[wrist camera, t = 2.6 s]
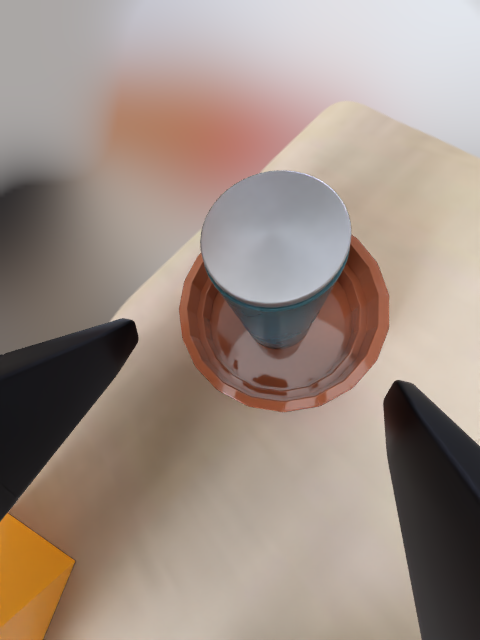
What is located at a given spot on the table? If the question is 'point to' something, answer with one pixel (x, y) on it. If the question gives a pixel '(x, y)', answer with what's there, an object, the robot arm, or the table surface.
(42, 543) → the orange juice
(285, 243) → the can
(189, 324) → the pot
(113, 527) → the table surface
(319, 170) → the table surface
